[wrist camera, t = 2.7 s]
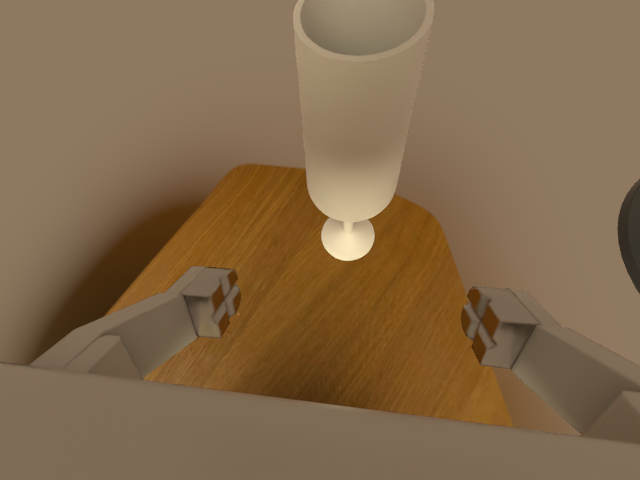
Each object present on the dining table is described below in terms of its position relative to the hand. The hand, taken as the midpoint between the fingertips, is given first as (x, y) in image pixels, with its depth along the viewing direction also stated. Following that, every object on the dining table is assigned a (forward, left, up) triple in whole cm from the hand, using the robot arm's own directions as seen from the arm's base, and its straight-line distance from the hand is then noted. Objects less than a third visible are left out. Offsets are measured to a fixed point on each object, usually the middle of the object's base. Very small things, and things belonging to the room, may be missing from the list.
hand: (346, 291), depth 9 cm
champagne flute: (-3, -9, -21) cm, 23 cm away
